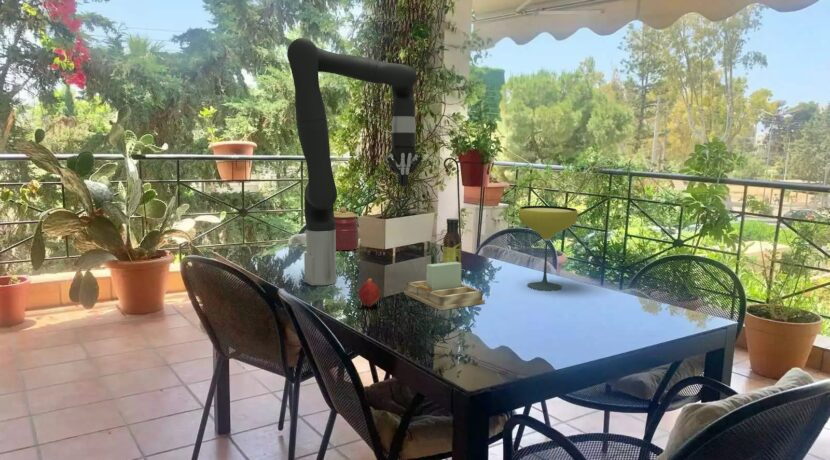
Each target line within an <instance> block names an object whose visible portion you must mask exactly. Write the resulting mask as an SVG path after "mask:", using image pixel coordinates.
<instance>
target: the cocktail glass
mask: <svg viewBox="0 0 830 460" xmlns="http://www.w3.org/2000/svg"><path fill="white" fill-rule="evenodd" d="M578 214H579V213H578V209H576V208H574V207H568V206H557V205H525V206H520V207H519V208H518V219H519V221H520V222H521V223H522V224H523V225H525V227H527V228H529V229H531V230H532V231H534V232H535V233H537V234H538V235H540V237H541V238H542V240H543V241H545V245H544V246H545V247H544V248H545V249H544V251H545V252H544V263H543V264H544V266H543V276H542V280H541V281H532V282H529V283H527V285H526V286H527V288H529V287H530V288H529V289H532V288H533V289H532V290H536V289H537V291H543V290H545V292H546V291H548V292H551V291H552V290H554V291H559V289H560V290H561V289H562V288H563V286H562V285H561V284H558V283H554V282H551V281H548V276H547V265H548V263H547V261H548V243H549V241H550V240H552V238H553V237H554V236H555V235H556V234H558V233H561V232H562V231H565V230H566V229H569V228H571V227H572V226H574V225H575V224H576V222H577V221H578V216H579V215H578Z"/></svg>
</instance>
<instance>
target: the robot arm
mask: <svg viewBox="0 0 830 460" xmlns="http://www.w3.org/2000/svg"><path fill="white" fill-rule="evenodd" d="M286 56H287V60H288V63H289V67H290V70H291V71H290V72H291V75H292V78H293V85H294V98H295V99H294V106H295V107H294V108H295V110H294V111H295V119H296V121H295V122H296V127H297V128H296V129H297V135H298V136H297V137H298V140H299V143H300V144H299V145H300V148H301V151H302V153H303V157H304V159H305V162H306V168H307V175H308V176H307V179H308V182H307V184H306V186H305V188H304V197H303V198H304V219H305V226H306V227H305V229H306V231H305V233H306V242H305V243H306V252H304V255H303V256H304V259H303V262H304V282H305V283H306V284H308V285H310V286H329V285H333V284H335V283H336V282H337V260H336V259H337V254H336V252H337V251H336V222H335V218H334V212H335V210H334V208H335V207H334V205H335V203H336V201H337V198H338V189H337V185H336V182H335V177H334V174H333V168H332V164H331V163H332V162H331V148H330V136H329V126H328V120H327V119H328V118H327V113H326V108H325V104H324V100H323V95H322V93H321V88H320V81H319V73H327V74H333V75H338V76H343V77H347V78H350V79H353V80H358V81H362V82H367V83H370V84H371V83H372V84H378V85H381V84H383V85H389V86H391V88H392V89H391V90H392V92H391V93H392V121H391V150H390V154H389V155H387V156H385V157H384V161H385V163H386V164H387V165H388V166H389V169H390V170H391V172H392V173H395V174H397V179H398V180H397V183H398V186H399V187H403V188H406V187H407V186H408V184H409V175H410V174H411V173H414V172H415V171H416V169H417V168H418V166H419V165H420V164H421V162H422V159H423V158H422V156H419V155H418V154H417V151H416V149H415V148H416V128H417V127H416V118H415V117H416V103H415V102H416V101H415V99H414V86H415V84H416V83H417V81H418V80H417V79H418V75H417V72H416V70H415V69H414V68H413V67H412V66H410V65H407V64H403V63H402V64H401V63H393V62H388V61H387V62H385V61H383V60H382V61H381V60H379V59H374V58H369V57H366V56H365V57H364V56H358V55H352V54H342V53H336V52H331V51H328V50H325V49H323V48H321V47H317V46H316V44H315V43H314V42H313V41H311V40H310V39H307V38H305V37H299V38H296V39H293V41H291V43H290V44H289V45H288V47H287V51H286ZM394 161H395V162H394Z"/></svg>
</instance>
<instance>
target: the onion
mask: <svg viewBox="0 0 830 460" xmlns="http://www.w3.org/2000/svg"><path fill="white" fill-rule="evenodd" d="M380 297H381V292H380V289H379V287H378V285H377V284H376V283H374V282H373V279H372V278H368V279H367V280H366V281H365V282H364V283H363V284H362V285H361V286H360V287H359V290H358V299H359V301H360V302H361V303H362V304H363V305H365V306H366V307H368V308H371V307H372V306H373V305H374V304H376V303H377V302H378V301H379V300H380Z"/></svg>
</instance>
